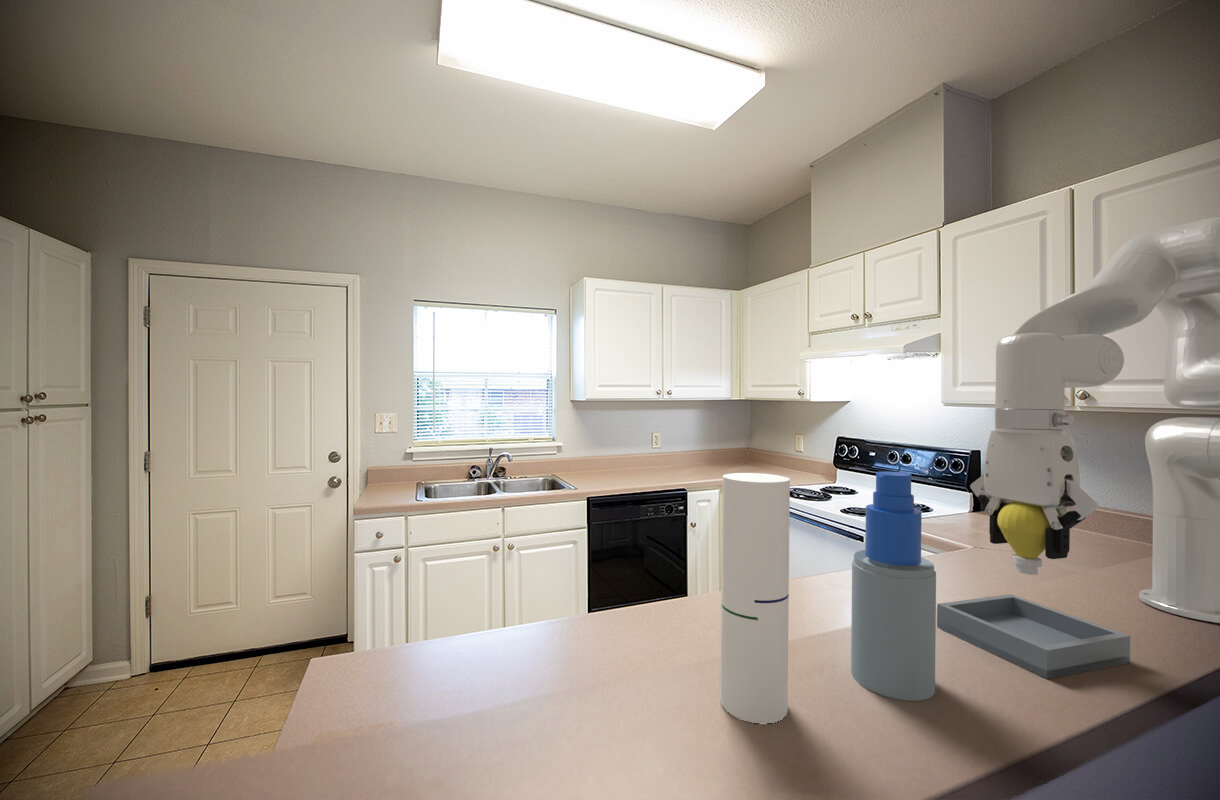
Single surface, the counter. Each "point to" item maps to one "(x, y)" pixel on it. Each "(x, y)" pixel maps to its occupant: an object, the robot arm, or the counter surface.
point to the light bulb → (1024, 534)
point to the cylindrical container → (755, 596)
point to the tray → (1034, 635)
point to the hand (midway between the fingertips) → (1026, 549)
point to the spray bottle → (893, 598)
